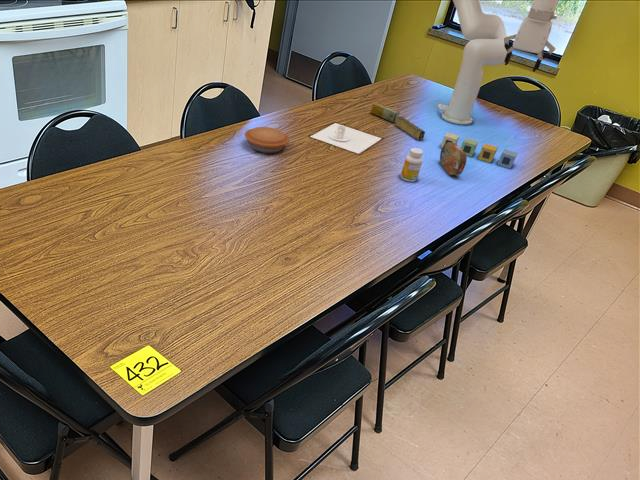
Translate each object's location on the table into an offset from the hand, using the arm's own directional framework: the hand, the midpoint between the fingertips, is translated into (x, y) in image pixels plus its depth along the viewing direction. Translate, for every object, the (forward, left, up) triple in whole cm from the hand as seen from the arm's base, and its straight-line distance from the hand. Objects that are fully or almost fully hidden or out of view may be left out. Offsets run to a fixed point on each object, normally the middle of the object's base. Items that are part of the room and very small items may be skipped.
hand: (520, 67), depth 203 cm
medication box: (-42, -7, -28) cm, 51 cm away
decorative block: (-29, -15, -28) cm, 43 cm away
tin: (-6, -38, -28) cm, 48 cm away
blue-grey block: (+9, -18, -28) cm, 35 cm away
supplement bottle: (-15, -55, -28) cm, 64 cm away
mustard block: (+2, -18, -28) cm, 34 cm away
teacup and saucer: (-45, -38, -28) cm, 65 cm away
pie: (-63, -67, -28) cm, 96 cm away
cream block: (-12, -18, -28) cm, 36 cm away
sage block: (-5, -18, -28) cm, 34 cm away
